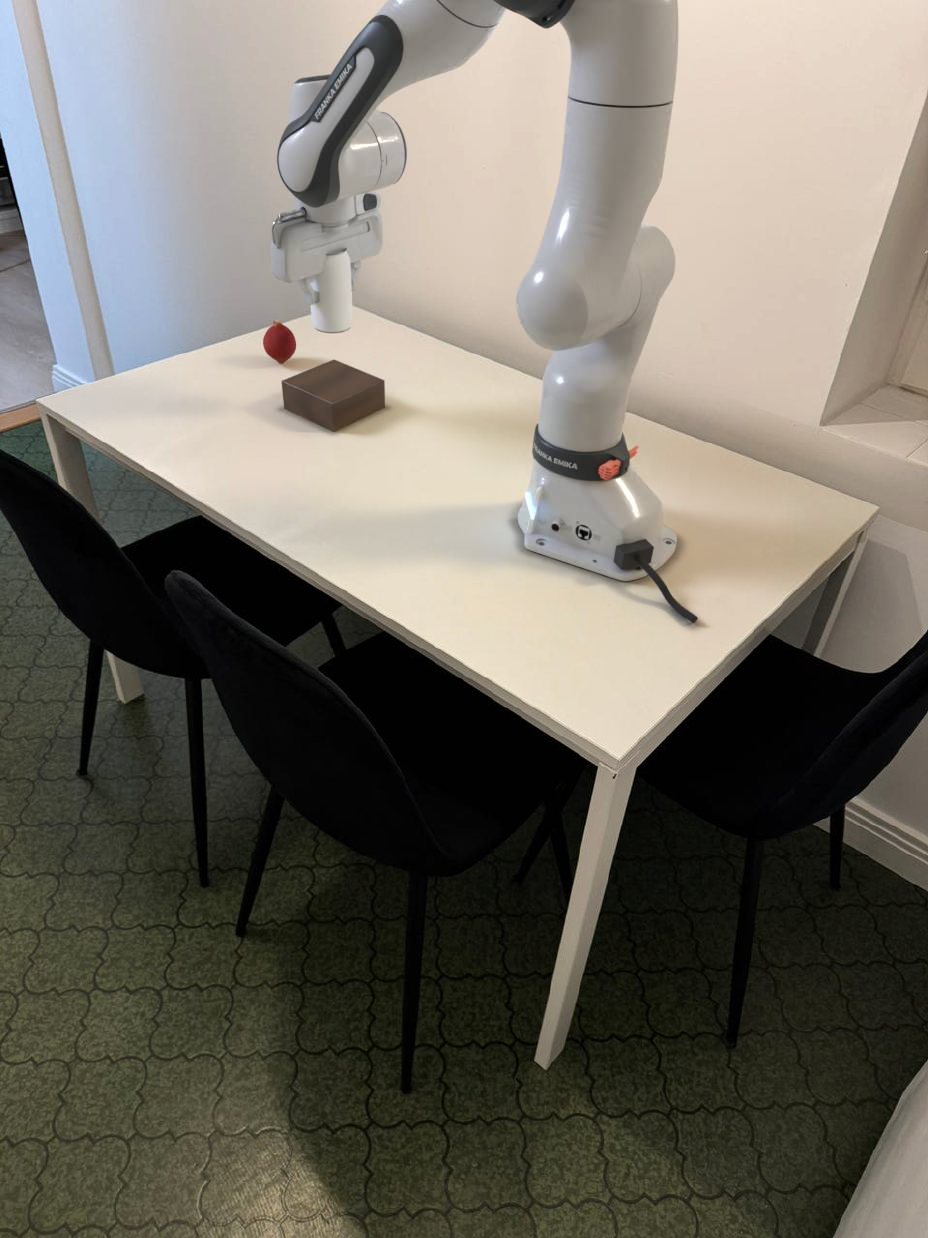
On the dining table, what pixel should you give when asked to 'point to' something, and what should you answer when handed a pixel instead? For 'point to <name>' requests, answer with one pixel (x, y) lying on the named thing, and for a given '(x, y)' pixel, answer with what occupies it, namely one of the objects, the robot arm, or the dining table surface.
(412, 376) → the dining table surface
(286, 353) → the onion
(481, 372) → the dining table surface
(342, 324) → the can
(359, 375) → the brown square block
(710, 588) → the dining table surface
